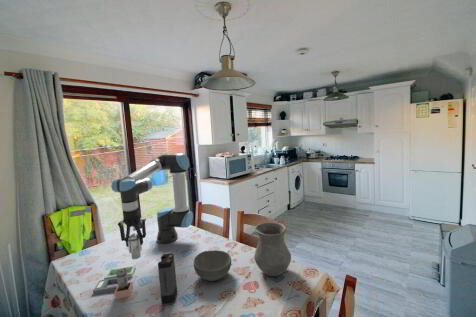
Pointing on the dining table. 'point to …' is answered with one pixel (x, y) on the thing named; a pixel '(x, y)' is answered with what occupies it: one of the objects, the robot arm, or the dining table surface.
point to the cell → (134, 246)
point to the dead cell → (122, 279)
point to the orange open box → (124, 292)
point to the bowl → (212, 264)
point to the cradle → (105, 286)
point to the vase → (272, 249)
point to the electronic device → (167, 279)
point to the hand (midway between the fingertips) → (135, 251)
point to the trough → (112, 272)
